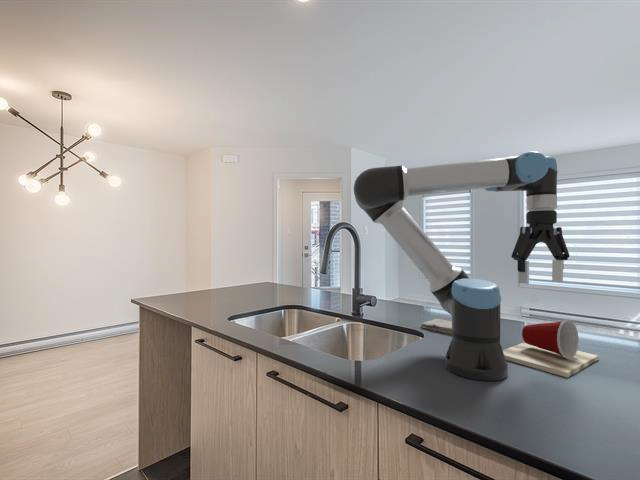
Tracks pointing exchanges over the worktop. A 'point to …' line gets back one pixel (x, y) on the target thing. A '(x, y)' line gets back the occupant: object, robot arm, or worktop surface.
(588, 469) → the worktop surface
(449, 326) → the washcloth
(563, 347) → the plastic cup
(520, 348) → the cutting board
